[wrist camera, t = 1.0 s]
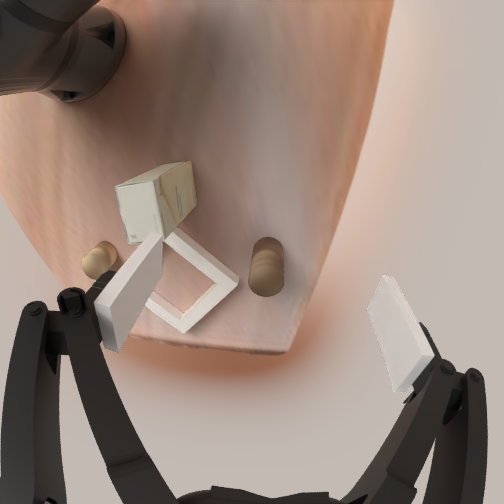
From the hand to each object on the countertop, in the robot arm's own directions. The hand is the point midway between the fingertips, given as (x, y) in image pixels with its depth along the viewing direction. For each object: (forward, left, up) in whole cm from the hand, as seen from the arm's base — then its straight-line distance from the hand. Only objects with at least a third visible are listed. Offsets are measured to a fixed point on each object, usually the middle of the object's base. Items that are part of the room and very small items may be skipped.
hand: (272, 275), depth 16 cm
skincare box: (-9, -8, -22) cm, 25 cm away
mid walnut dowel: (+6, -7, -22) cm, 23 cm away
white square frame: (-1, -20, -22) cm, 30 cm away
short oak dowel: (-12, -25, -22) cm, 36 cm away
